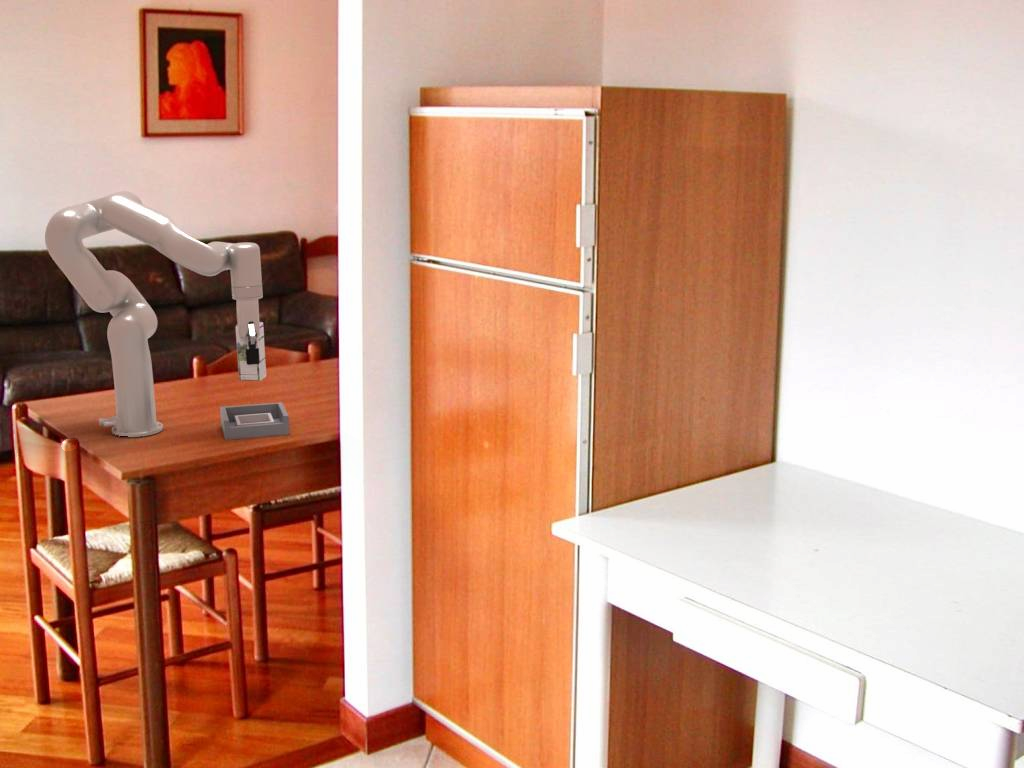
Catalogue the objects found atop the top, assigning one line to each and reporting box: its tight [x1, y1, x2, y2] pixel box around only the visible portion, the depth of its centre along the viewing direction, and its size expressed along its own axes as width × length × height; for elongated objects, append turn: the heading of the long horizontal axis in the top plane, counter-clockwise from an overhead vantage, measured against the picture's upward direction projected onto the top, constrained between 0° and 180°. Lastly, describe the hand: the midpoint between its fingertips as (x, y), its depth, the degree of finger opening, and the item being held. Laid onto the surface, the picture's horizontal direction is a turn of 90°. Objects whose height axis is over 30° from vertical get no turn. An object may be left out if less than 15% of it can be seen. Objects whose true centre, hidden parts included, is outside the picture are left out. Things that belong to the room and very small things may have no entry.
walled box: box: [219, 401, 290, 441], centre depth 305 cm, size 16×14×5 cm
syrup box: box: [235, 321, 267, 382], centre depth 300 cm, size 6×6×14 cm
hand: (251, 360), depth 301 cm, fingers closed on syrup box, 7 cm apart
